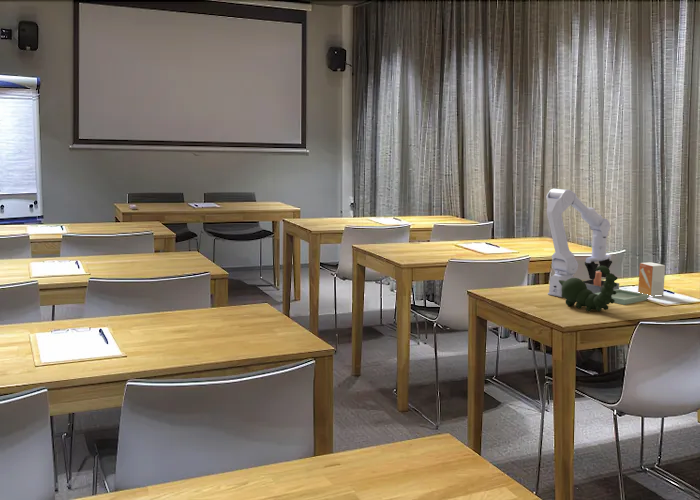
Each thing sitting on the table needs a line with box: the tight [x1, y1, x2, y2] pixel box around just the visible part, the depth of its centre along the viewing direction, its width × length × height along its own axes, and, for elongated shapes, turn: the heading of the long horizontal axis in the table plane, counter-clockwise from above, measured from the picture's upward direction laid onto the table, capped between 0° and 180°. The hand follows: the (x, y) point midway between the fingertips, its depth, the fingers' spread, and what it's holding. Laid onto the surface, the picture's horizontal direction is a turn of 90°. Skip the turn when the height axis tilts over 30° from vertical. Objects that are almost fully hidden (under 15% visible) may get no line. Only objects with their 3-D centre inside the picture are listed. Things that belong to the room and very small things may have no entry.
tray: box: [595, 288, 650, 306], centre depth 293 cm, size 16×14×2 cm
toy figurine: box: [559, 265, 618, 312], centre depth 275 cm, size 9×19×25 cm
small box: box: [637, 261, 666, 296], centre depth 300 cm, size 8×6×13 cm
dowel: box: [594, 271, 602, 286], centre depth 309 cm, size 3×3×8 cm
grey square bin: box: [582, 278, 620, 294], centre depth 309 cm, size 13×13×4 cm
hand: (597, 278), depth 309 cm, fingers open, 7 cm apart
